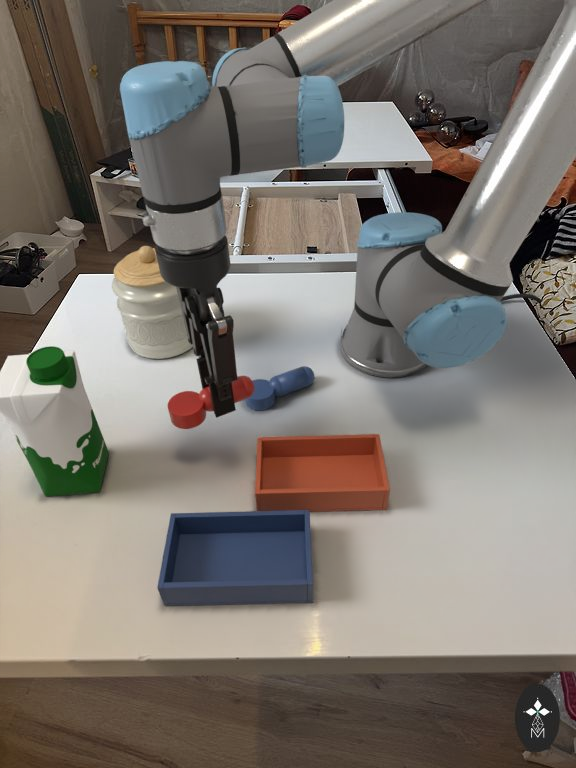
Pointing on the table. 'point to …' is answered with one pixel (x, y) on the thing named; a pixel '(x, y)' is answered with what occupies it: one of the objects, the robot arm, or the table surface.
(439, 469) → the table surface
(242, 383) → the red disc-headed bar
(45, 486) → the milk carton
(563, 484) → the table surface
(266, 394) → the blue toy rattle
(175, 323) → the jar
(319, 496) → the bin red
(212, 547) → the bin blue
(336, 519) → the table surface
